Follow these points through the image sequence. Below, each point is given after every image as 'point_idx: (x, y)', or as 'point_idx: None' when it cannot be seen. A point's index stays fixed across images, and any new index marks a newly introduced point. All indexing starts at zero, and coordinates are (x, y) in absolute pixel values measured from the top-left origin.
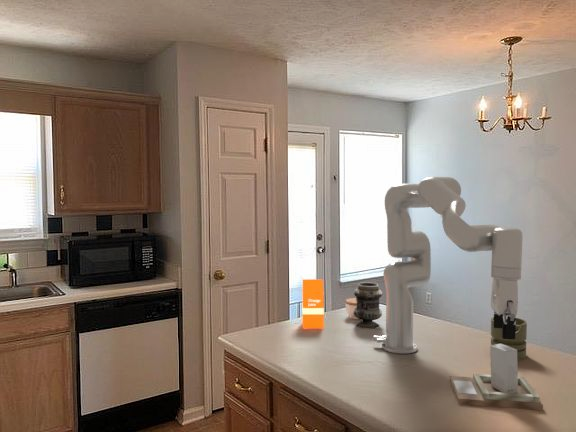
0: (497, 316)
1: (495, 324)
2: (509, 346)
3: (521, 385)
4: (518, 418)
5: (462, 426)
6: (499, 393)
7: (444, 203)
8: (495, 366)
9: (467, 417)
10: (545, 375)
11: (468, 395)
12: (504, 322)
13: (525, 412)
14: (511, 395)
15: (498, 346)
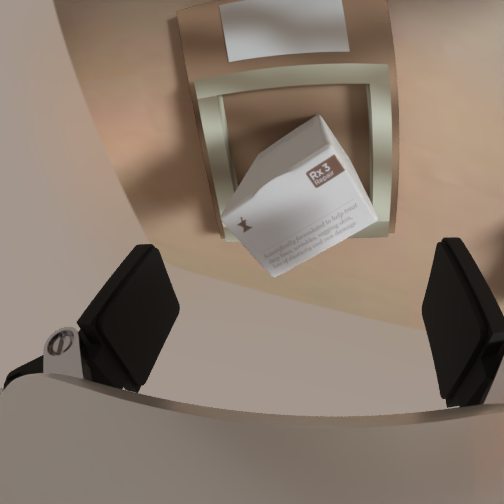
0: (467, 341)
1: (445, 264)
2: None
3: None
4: (153, 165)
5: (71, 50)
6: (211, 131)
7: None
8: (293, 142)
9: (112, 49)
10: None
11: (212, 36)
12: (63, 343)
13: (195, 187)
14: (211, 166)
15: (304, 192)
